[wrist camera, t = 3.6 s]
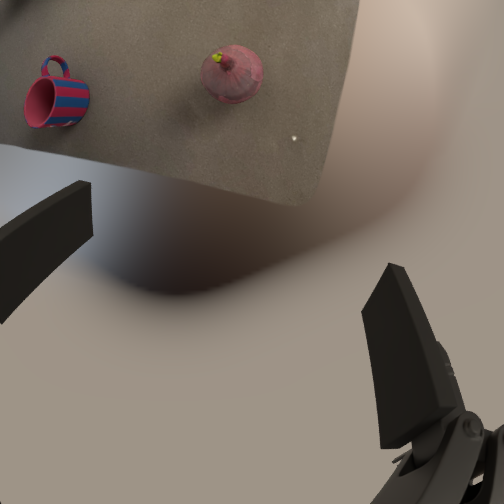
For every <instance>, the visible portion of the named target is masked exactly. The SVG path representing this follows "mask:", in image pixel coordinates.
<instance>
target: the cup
mask: <svg viewBox="0 0 504 504" xmlns="http://www.w3.org/2000/svg"><path fill="white" fill-rule="evenodd" d="M49 60H54V61H56V62H58V63H59V64H60V66H61V68H62V70H63V76H64V78H62V77H55V76H50V74H49V73H48V70H47V64H48V61H49ZM41 72H42V77H40V78H38V79H37V80H36V81H35V82H34V83H33V84H32V86H31V87H30V89H29V91H28V93H27V96H26V99H25V104H24V116H25V120H26V122H27V124H28V125H29V126H30V127H32V128H46V127H58V126H71V125H74V124H76V123H77V122H78V121H79V120H81V118H82V117H83V116H84V114H85V112H86V110H87V108H88V104H89V89H88V87H87V85H86V84H85V83H84V82H83V81H81V80H76V79H70V73H69V69H68V66H67V64H66V62H65V60H64V59H63V58H61V57H59V56H50V57H48V58H46V59H45V60H44V61H43V63H42V69H41Z"/></svg>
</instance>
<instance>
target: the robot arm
mask: <svg viewBox="0 0 504 504" xmlns="http://www.w3.org/2000/svg"><path fill="white" fill-rule="evenodd" d="M92 236H93V225H92V205H91V183H90V182H85V181H81V180H79V181H76V182H75V183H73V184H71V185H69V186H67V187H65V188H63V189H62V190H60V191H58V192H56V193H55V194H53V195H51V196H49V197H48V198H46V199H44V200H43V201H41V202H39V203H38V204H36V205H34V206H33V207H31V208H29V209H28V210H26V211H25V212H23V213H22V214H20V215H18V216H17V217H15V218H14V219H13V220H11V221H9V222H8V223H7V224H5V225H4V226H2V227H1V228H0V323H1V324H3V323H4V322H5V320H6V319H7V318H8V317H9V316H10V315H11V314H12V312H13V311H14V310H15V309H16V308H17V307H18V306H19V305H20V304H21V303H22V302H23V300H25V299H26V298H27V297H28V296H29V295H30V294H31V293H32V292H33V291H34V289H35V288H37V287H38V286H39V285H40V283H42V282H43V280H45V279H46V278H47V277H48V276H49V275H50V274H51V273H52V272H53V271H54V270H55V269H56V268H57V267H58V266H59V265H61V264H62V263H63V262H64V261H65V260H66V259H67V258H68V257H69V256H70V255H71V254H73V253H74V252H75V251H76V250H77V249H78V248H79V247H81V246H82V245H83V244H84V243H85V242H87V241H88V240H89V239H90V238H91V237H92ZM361 313H362V318H363V323H364V328H365V333H366V339H367V344H368V350H369V356H370V362H371V367H372V375H373V381H374V389H375V397H376V405H377V413H378V424H379V433H380V447H381V449H398V448H401V447H403V446H404V445H406V444H407V443H409V442H412V449H410V450H409V451H407V452H405V453H404V454H402V455H400V456H399V457H397V458H395V459H394V460H393V461H392V463H396V462H398V461H399V460H401V459H402V460H401V462H400V464H399V465H397V468H396V470H395V471H394V473H393V474H392V475H391V477H390V478H389V480H388V481H387V482H386V484H385V485H384V487H383V488H382V489H381V491H380V492H379V493H378V494H377V496H376V497H375V498H374V500H373V501H372V502H371V503H370V504H504V425H502V426H500V427H499V428H498V429H496V430H495V431H494V432H492V431H489V430H486V429H484V427H483V424H482V422H481V419H480V418H479V417H478V416H477V415H476V414H475V413H473V412H470V411H466V410H465V406H464V403H463V400H462V396H461V393H460V390H459V386H458V383H457V380H456V377H455V376H454V371H453V368H452V367H451V363H450V360H449V357H448V355H447V352H446V351H445V350H444V348H443V347H442V345H441V344H440V343H439V342H438V341H436V339H435V336H434V334H433V331H432V329H431V327H430V324H429V322H428V319H427V317H426V314H425V312H424V310H423V307H422V305H421V303H420V301H419V298H418V296H417V294H416V292H415V290H414V288H413V285H412V283H411V281H410V279H409V277H408V275H407V273H406V271H405V269H404V267H401V266H398V265H395V264H392V263H388V266H387V267H386V269H385V271H384V273H383V275H382V276H381V278H380V280H379V282H378V284H377V285H376V287H375V289H374V291H373V292H372V294H371V296H370V298H369V299H368V301H367V303H366V304H365V306H364V308H363V310H362V311H361ZM483 473H484V475H483V481H481V482H479V483H477V484H476V485H473V484H472V483H473V479H474V478H476V477H478V476H480V475H482V474H483ZM0 504H1V502H0Z"/></svg>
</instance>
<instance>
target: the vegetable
mask: <svg viewBox="0 0 504 504" xmlns="http://www.w3.org/2000/svg"><path fill="white" fill-rule="evenodd" d="M262 80H263V66H262V63H261V60H260V59H259V57H258V56H257V55H256V54H255V53H254V52H253V51H251V50H249V49H248V48H246V47H243V46H240V45H228V46H224V47H221V48H218V49H217V50H215V51H214V52H213V53H211V54H210V55H209V56H208V57H207V58H206V59H205V61H204V62H203V64H202V67H201V81H202V84H203V85H204V87H205V89H206V90H207V91H208V92H209V93H210V94H211V95H212V96H213V97H214V98H216V99H217V100H219V101H221V102H224V103H228V104H237V103H241V102H244V101H246V100H247V99H249V98H251V97H252V96H254V95H255V94H256V93H257V92H258V90H259V88H260V86H261V84H262Z"/></svg>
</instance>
